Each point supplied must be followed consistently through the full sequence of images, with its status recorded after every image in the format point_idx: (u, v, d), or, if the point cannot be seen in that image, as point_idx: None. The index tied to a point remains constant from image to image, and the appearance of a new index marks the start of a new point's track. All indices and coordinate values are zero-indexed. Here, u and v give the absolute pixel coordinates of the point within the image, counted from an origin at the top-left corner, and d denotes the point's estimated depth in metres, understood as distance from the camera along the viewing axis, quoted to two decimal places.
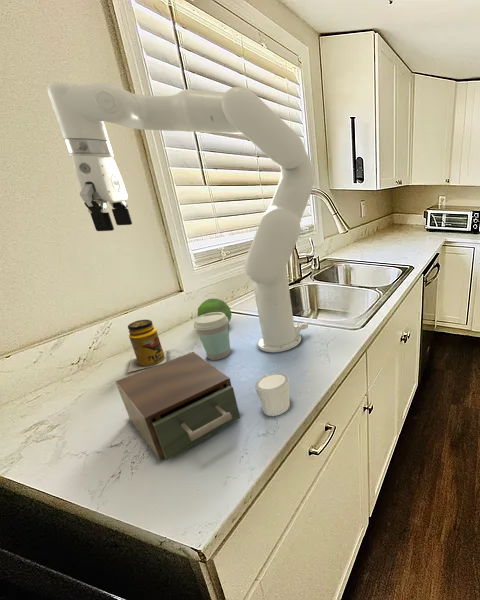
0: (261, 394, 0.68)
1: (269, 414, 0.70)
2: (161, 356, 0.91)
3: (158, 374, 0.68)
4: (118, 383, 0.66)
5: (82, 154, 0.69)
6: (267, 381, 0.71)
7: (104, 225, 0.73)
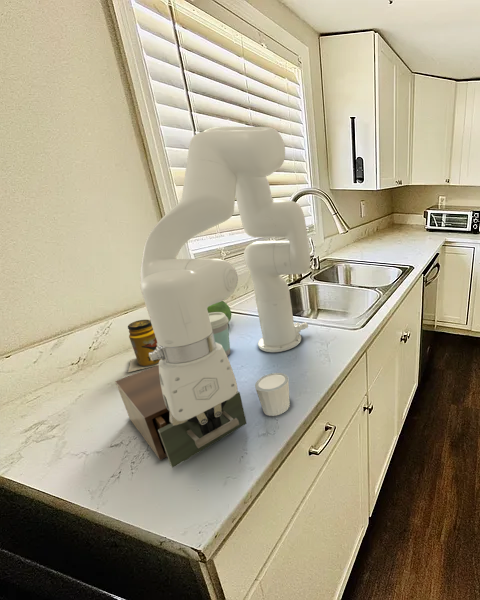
0: (261, 394, 0.68)
1: (269, 414, 0.70)
2: None
3: (158, 374, 0.68)
4: (118, 383, 0.66)
5: (164, 362, 0.50)
6: (267, 381, 0.71)
7: None
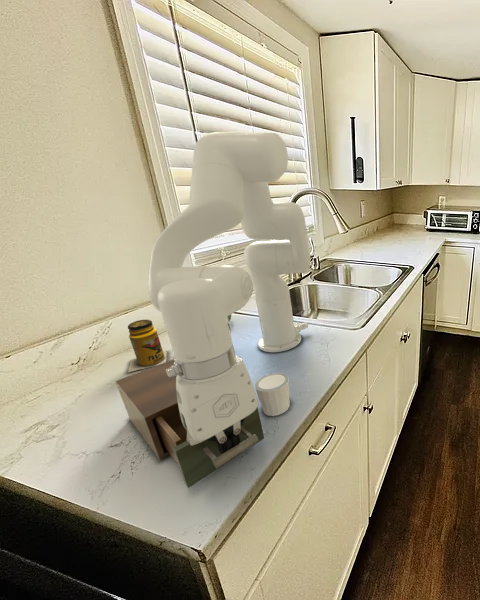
0: (261, 394, 0.68)
1: (269, 414, 0.70)
2: (161, 356, 0.91)
3: (158, 374, 0.68)
4: (118, 383, 0.66)
5: (181, 378, 0.47)
6: (267, 381, 0.71)
7: None
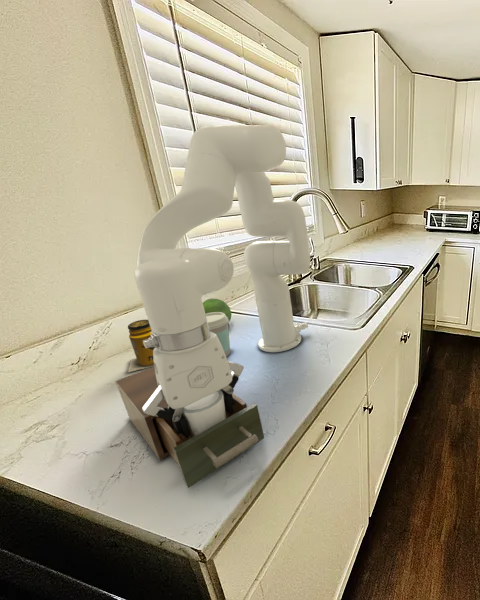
0: (185, 415, 0.55)
1: None
2: None
3: None
4: (118, 383, 0.66)
5: (158, 350, 0.51)
6: None
7: (177, 432, 0.55)
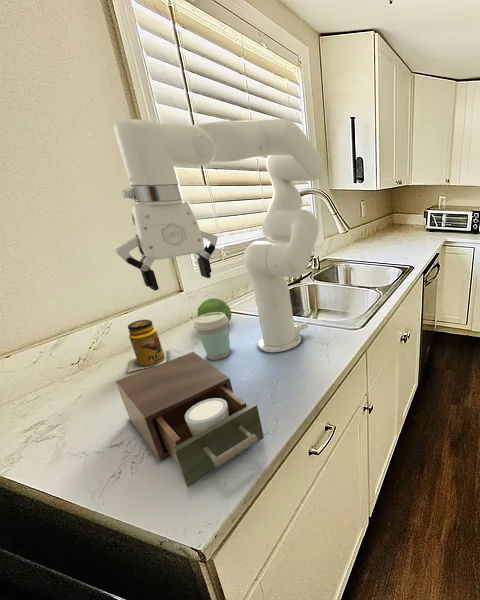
0: (190, 426, 0.56)
1: None
2: (161, 356, 0.91)
3: (158, 374, 0.68)
4: (118, 383, 0.66)
5: (135, 203, 0.58)
6: (201, 409, 0.59)
7: (147, 284, 0.62)
